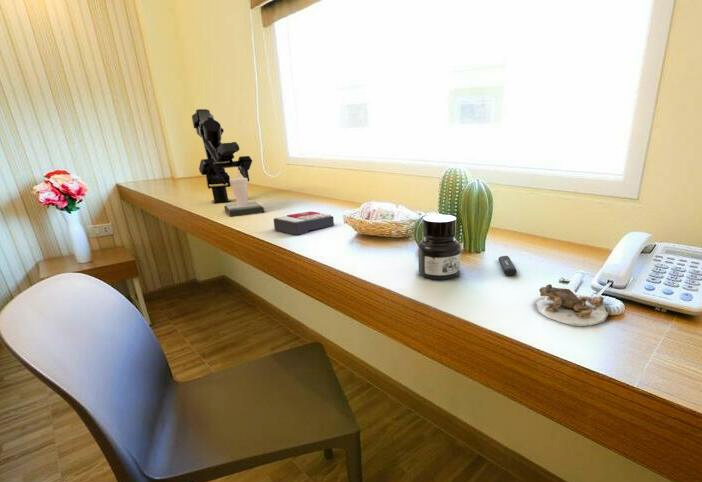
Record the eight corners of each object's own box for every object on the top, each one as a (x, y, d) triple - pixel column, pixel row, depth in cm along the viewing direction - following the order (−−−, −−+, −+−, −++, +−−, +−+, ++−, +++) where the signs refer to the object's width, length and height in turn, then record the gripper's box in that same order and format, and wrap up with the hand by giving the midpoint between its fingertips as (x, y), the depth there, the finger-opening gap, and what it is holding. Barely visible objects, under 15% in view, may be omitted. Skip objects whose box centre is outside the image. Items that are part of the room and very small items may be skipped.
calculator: (333, 214, 125) (294, 220, 114) (334, 227, 126) (296, 235, 115) (311, 210, 131) (272, 216, 120) (312, 223, 133) (274, 230, 121)
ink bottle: (427, 284, 79) (427, 225, 74) (410, 270, 86) (409, 216, 82) (469, 276, 82) (471, 220, 78) (449, 263, 90) (450, 211, 85)
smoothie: (241, 207, 145) (234, 167, 139) (230, 205, 148) (223, 167, 143) (255, 204, 150) (249, 166, 144) (245, 202, 153) (238, 165, 148)
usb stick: (497, 261, 91) (498, 255, 90) (509, 261, 91) (509, 255, 90) (504, 276, 82) (504, 269, 81) (517, 276, 82) (517, 269, 81)
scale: (225, 211, 151) (223, 204, 150) (257, 207, 157) (256, 201, 156) (230, 216, 142) (228, 209, 141) (264, 212, 148) (263, 205, 147)
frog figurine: (532, 320, 63) (534, 298, 62) (537, 292, 74) (540, 273, 72) (610, 331, 60) (615, 308, 58) (604, 300, 70) (608, 280, 69)
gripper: (195, 135, 137) (216, 170, 134) (245, 133, 150) (265, 165, 148) (190, 158, 145) (210, 191, 142) (238, 154, 158) (257, 184, 155)
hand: (237, 182), depth 147 cm, fingers open, 9 cm apart
